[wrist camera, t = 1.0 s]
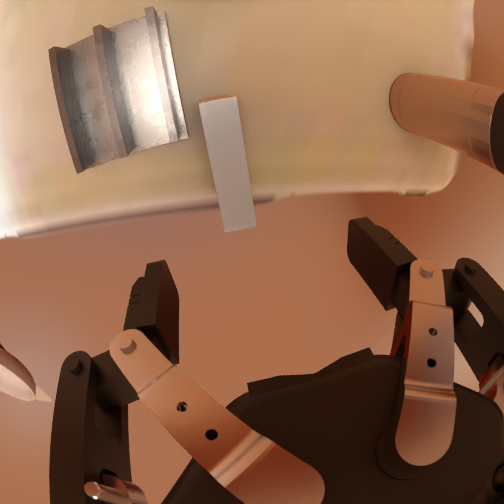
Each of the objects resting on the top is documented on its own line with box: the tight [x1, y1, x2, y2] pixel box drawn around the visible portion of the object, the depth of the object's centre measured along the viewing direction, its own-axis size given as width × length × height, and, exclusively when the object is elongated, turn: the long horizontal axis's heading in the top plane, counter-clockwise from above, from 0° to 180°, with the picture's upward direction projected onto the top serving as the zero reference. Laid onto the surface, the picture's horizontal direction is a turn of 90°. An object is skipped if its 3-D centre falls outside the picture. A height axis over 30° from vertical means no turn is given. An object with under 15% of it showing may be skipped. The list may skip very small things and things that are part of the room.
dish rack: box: [49, 6, 188, 174], centre depth 22 cm, size 13×16×5 cm
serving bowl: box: [0, 348, 36, 401], centre depth 42 cm, size 21×21×7 cm
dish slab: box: [198, 95, 257, 233], centre depth 26 cm, size 3×12×10 cm, turn 8°
